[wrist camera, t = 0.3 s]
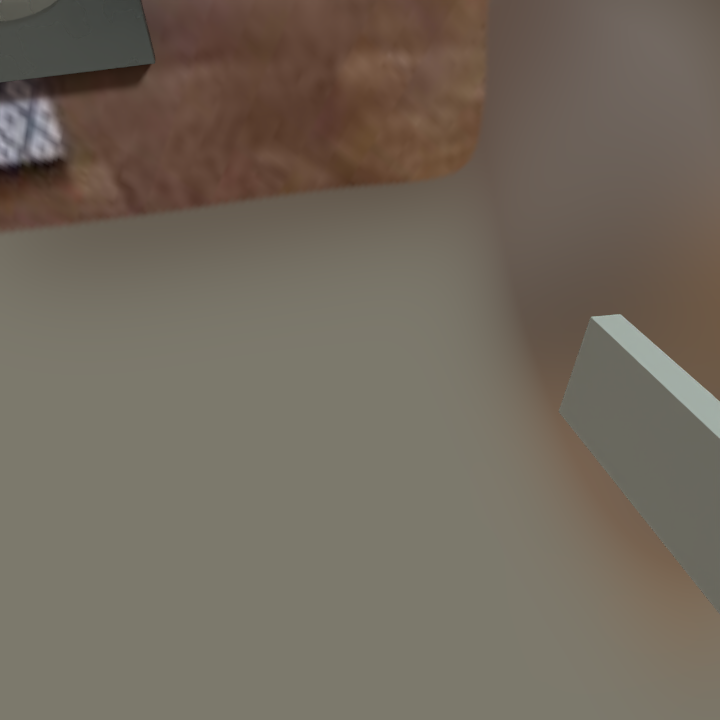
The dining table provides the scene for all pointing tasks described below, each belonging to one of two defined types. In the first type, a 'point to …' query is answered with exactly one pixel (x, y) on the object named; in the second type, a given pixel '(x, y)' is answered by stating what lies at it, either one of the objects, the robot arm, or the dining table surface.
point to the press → (71, 37)
